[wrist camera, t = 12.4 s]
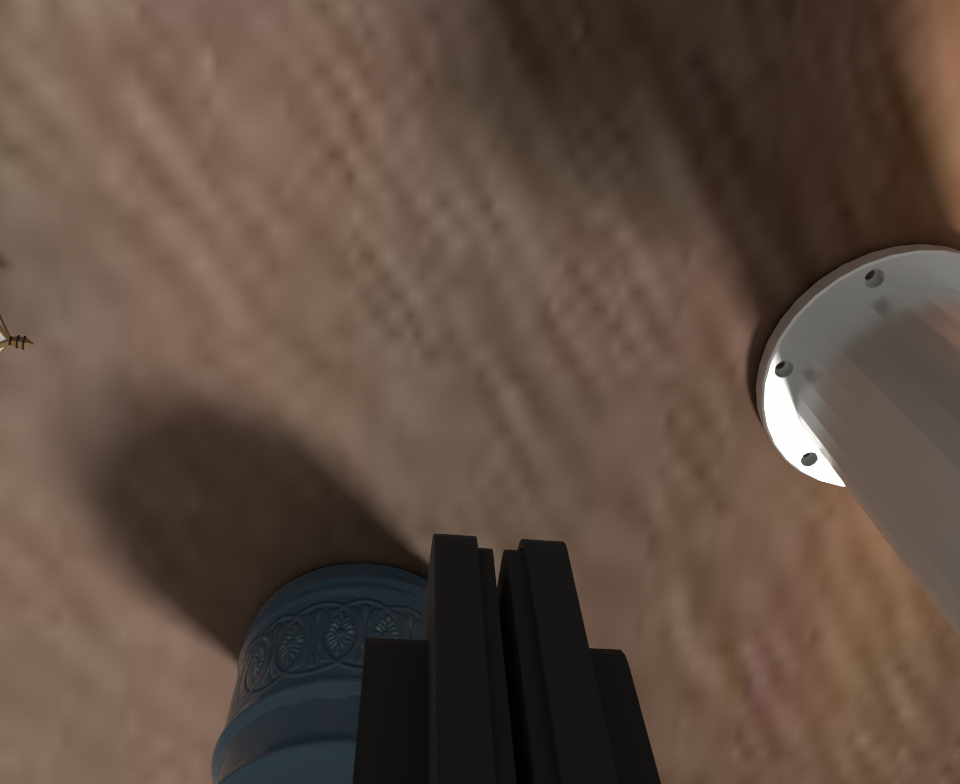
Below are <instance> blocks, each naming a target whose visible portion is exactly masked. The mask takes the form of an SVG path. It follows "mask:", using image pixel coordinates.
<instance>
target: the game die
mask: <svg viewBox="0 0 960 784" xmlns="http://www.w3.org/2000/svg"><path fill="white" fill-rule="evenodd" d="M8 345H13V346H15V347H16V348H22V349H23V350H24V349H25V348H27V347H30V346H33V345H35V344H34V343H33V342H31V341H30V340H29V339H27V338H26V336H24V337H20V335H18V336H17V337H11V336H10V335H9V332H8V330H7V328H6V326H5V324H4V322H3V320H2V318H1V315H0V354H1V353H2V352H3V351H4V350H5V349H6V347H7V346H8Z"/></svg>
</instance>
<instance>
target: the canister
mask: <svg viewBox="0 0 960 784" xmlns="http://www.w3.org/2000/svg"><path fill="white" fill-rule="evenodd" d="M427 581H428V580H427V579H425V578H423V577H421V576H419V575H416V574H414V573H411V572H408V571H406V570H403V569H399V568H395V567H391V566H386V565H379V564H368V563H351V564H340V565H334V566H329V567H324V568H320V569H317V570H314V571H311V572H308V573H306V574H303V575H301V576H299V577H297V578H295V579H293V580H291V581H290V582H288V583H287V584H285V585H284V586H282V587H281V588H280V589H278V590H277V591H276V592H275V593H274V594H273V595H271V597H270V598H269V599H268V600H267V601H266V602H265V603H264V605H263V606H262V607H261V609H260V611H259V612H258V614H257V616H256V618H255V620H254V621H253V623H252V624H251V626H250V627H249V629H248V632H247V634H246V636H245V639H244V641H243V645H242V649H241V652H240V656H239V660H238V669H237V676H238V678H237V682H236V685H235V689H234V693H233V697H232V701H231V705H230V709H229V712H228V716H227V720H226V724H225V728H224V730H223V732H222V733H221V735H220V737H219V739H218V741H217V744H216V746H215V749H214V753H213V757H212V766H211V768H212V780H213V784H352V783H353V772H354V761H355V750H356V739H357V728H358V717H359V707H360V696H361V685H362V674H363V663H364V652H365V642H366V637H369V638H389V639H410V640H421V633H422V625H423V616H424V607H425V599H426V590H427Z"/></svg>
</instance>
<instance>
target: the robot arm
mask: <svg viewBox="0 0 960 784" xmlns="http://www.w3.org/2000/svg"><path fill="white" fill-rule="evenodd" d="M867 273H868V274H867ZM778 363H779V364H778ZM756 399H757V409H758V413H759V416H760V419H761V422H762V426H763V428H764V430H765V431H766V433H767V435H768V436H769V438H770V440H771V441H772V443H773V445H774V446H775V447H776V449H777V450H778V451H779V452H780V454H781V455H782V456H783V458H784V459H785V460H786V461H787V462H789V463H790V464H791V465H792V466H793V467H794V468H796V469H797V470H798V471H800V472H802V473H804V474H806V475H808V476H810V477H812V478H814V479H816V480H818V481H821V482H825V483H829V484H833V485H837V486H844V487H847V489H848V490H849V491H850V493H851V494H852V495H853V497H854V498H855V499H856V501H857V502H858V503H859V505H860V506H861V507H862V509H863V510H864V511H865V513H866V514H867V515H868V517H869V518H870V519H871V521H872V522H873V523H874V525H875V526H876V527H877V529H878V530H879V531H880V533H881V534H882V535H883V537H884V538H885V539H886V541H887V542H888V543H889V545H890V546H891V547H892V549H893V550H894V551H895V553H896V554H897V555H898V557H899V558H900V559H901V561H902V562H903V563H904V565H905V566H906V567H907V569H908V570H909V571H910V573H911V574H912V575H913V577H914V578H915V579H916V580H917V582H918V583H919V584H920V586H921V587H922V588H923V590H924V591H925V592H926V594H927V595H928V596H929V598H930V599H931V600H932V602H933V603H934V604H935V606H936V607H937V608H938V610H939V611H940V612H941V614H942V615H943V616H944V618H945V619H946V620H947V622H948V623H949V624H950V626H951V627H952V628H953V630H954V631H955V632H956V634H957V635H958V636H959V638H960V251H959V250H956V249H953V248H950V247H947V246H937V245H927V244H916V245H905V246H895V247H891V248H887V249H883V250H880V251H876V252H872V253H868V254H866V255H864V256H862V257H859V258H857V259H855V260H853V261H850V262H848V263H846V264H844V265H842V266H840V267H839V268H837V269H836V270H834V271H832V272H831V273H829V274H828V275H826V276H825V277H823V278H822V279H820V280H818V281H817V282H816V283H815V284H814V285H813V286H812V287H811V288H809V289H808V290H807V291H806V292H805V293H804V294H803V295H802V296H800V297H799V298H798V299H797V300H796V301H795V303H794V304H793V305H792V306H791V307H790V309H789V310H788V311H787V312H786V314H785V315H784V316H783V317H782V318H781V320H780V321H779V323H778V325H777V326H776V328H775V330H774V331H773V333H772V335H771V337H770V338H769V340H768V342H767V344H766V347H765V350H764V353H763V355H762V358H761V361H760V364H759V369H758V375H757V382H756ZM352 784H661V782H660V779H659V775H658V771H657V767H656V764H655V760H654V756H653V753H652V749H651V745H650V742H649V738H648V734H647V731H646V727H645V723H644V720H643V716H642V712H641V709H640V705H639V701H638V697H637V694H636V690H635V686H634V683H633V679H632V675H631V672H630V668H629V665H628V662H627V659H626V657H625V655H624V653H623V652H622V651H621V650H614V649H593V648H589V645H588V641H587V636H586V632H585V627H584V623H583V618H582V614H581V609H580V605H579V600H578V596H577V591H576V587H575V582H574V578H573V573H572V569H571V564H570V560H569V556H568V551H567V547H566V544H565V543H564V542H560V541H544V540H528V539H522V540H521V541H520V543H519V547H518V550H504V552H503V556H502V561H501V567H500V573H499V579H498V585H497V586H496V576H495V566H494V557H493V550H492V549H487V548H478V544H477V538H476V536H463V535H447V534H434V535H433V539H432V547H431V555H430V564H429V573H428V581H427V590H426V599H425V607H424V616H423V625H422V633H421V640H410V639H389V638H369V637H366V642H365V652H364V663H363V674H362V685H361V696H360V707H359V717H358V728H357V739H356V750H355V761H354V772H353V783H352Z"/></svg>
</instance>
